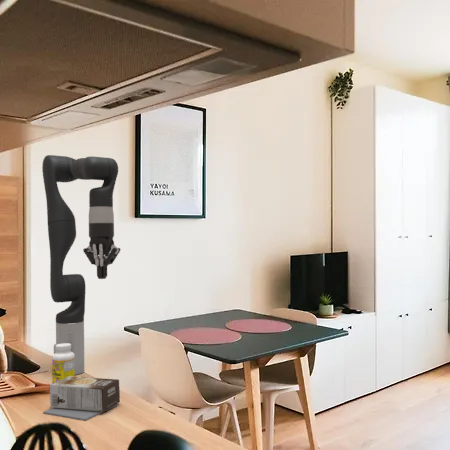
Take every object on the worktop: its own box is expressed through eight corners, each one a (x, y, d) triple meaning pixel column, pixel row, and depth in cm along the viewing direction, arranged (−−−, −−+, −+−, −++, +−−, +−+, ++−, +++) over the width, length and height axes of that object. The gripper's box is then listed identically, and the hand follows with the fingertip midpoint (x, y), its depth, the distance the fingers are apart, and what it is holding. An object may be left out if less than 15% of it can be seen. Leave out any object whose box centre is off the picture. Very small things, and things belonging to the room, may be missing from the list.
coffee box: (68, 375, 148) (120, 378, 144) (68, 398, 148) (120, 402, 144) (49, 384, 140) (103, 388, 135) (49, 408, 139) (104, 413, 135)
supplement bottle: (48, 386, 162) (48, 344, 162) (68, 382, 167) (68, 341, 167) (58, 391, 157) (58, 347, 157) (78, 386, 162) (78, 344, 162)
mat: (43, 413, 137) (43, 411, 137) (77, 399, 148) (77, 397, 149) (85, 420, 131) (85, 419, 131) (117, 405, 142) (117, 403, 142)
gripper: (126, 221, 162) (127, 278, 162) (92, 222, 168) (93, 277, 167) (111, 221, 155) (111, 280, 155) (76, 222, 161) (76, 279, 161)
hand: (102, 278), depth 161 cm, fingers closed
